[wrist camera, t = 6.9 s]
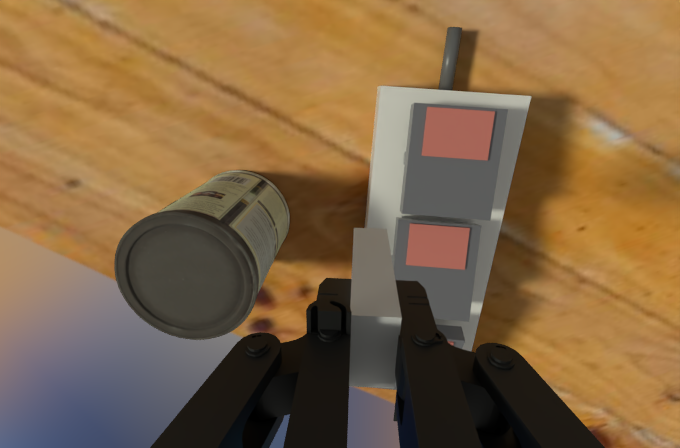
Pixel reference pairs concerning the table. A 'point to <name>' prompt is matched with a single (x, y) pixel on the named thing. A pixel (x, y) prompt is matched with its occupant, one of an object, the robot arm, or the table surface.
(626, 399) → the table surface
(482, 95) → the power strip
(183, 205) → the coffee can
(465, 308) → the rocker
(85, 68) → the table surface
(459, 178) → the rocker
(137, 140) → the table surface
